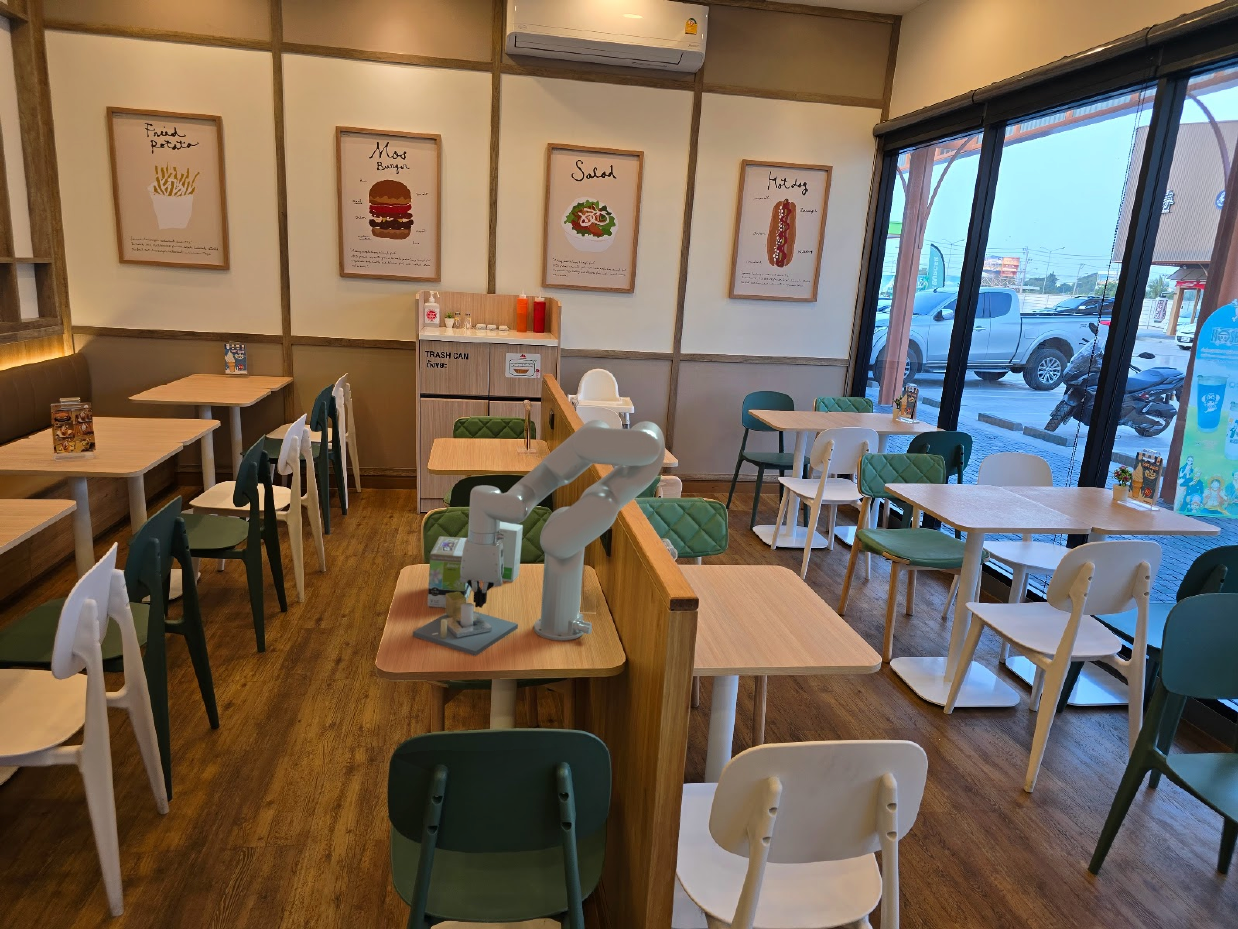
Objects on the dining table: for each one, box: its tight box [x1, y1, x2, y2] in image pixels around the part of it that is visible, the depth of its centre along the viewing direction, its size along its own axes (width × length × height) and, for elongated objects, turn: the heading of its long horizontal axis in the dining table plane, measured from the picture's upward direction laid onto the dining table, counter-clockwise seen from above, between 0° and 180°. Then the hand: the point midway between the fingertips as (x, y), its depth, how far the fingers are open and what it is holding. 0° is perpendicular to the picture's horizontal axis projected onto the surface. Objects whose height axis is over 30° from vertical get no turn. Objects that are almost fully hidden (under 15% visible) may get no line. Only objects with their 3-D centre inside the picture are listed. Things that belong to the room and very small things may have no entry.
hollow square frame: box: [444, 592, 492, 638], centre depth 200 cm, size 14×9×6 cm, turn 35°
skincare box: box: [500, 521, 524, 583], centre depth 234 cm, size 8×7×16 cm
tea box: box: [427, 535, 472, 609], centre depth 217 cm, size 15×10×15 cm, turn 3°
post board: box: [412, 602, 519, 657], centre depth 198 cm, size 18×18×7 cm
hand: (479, 605), depth 205 cm, fingers closed
